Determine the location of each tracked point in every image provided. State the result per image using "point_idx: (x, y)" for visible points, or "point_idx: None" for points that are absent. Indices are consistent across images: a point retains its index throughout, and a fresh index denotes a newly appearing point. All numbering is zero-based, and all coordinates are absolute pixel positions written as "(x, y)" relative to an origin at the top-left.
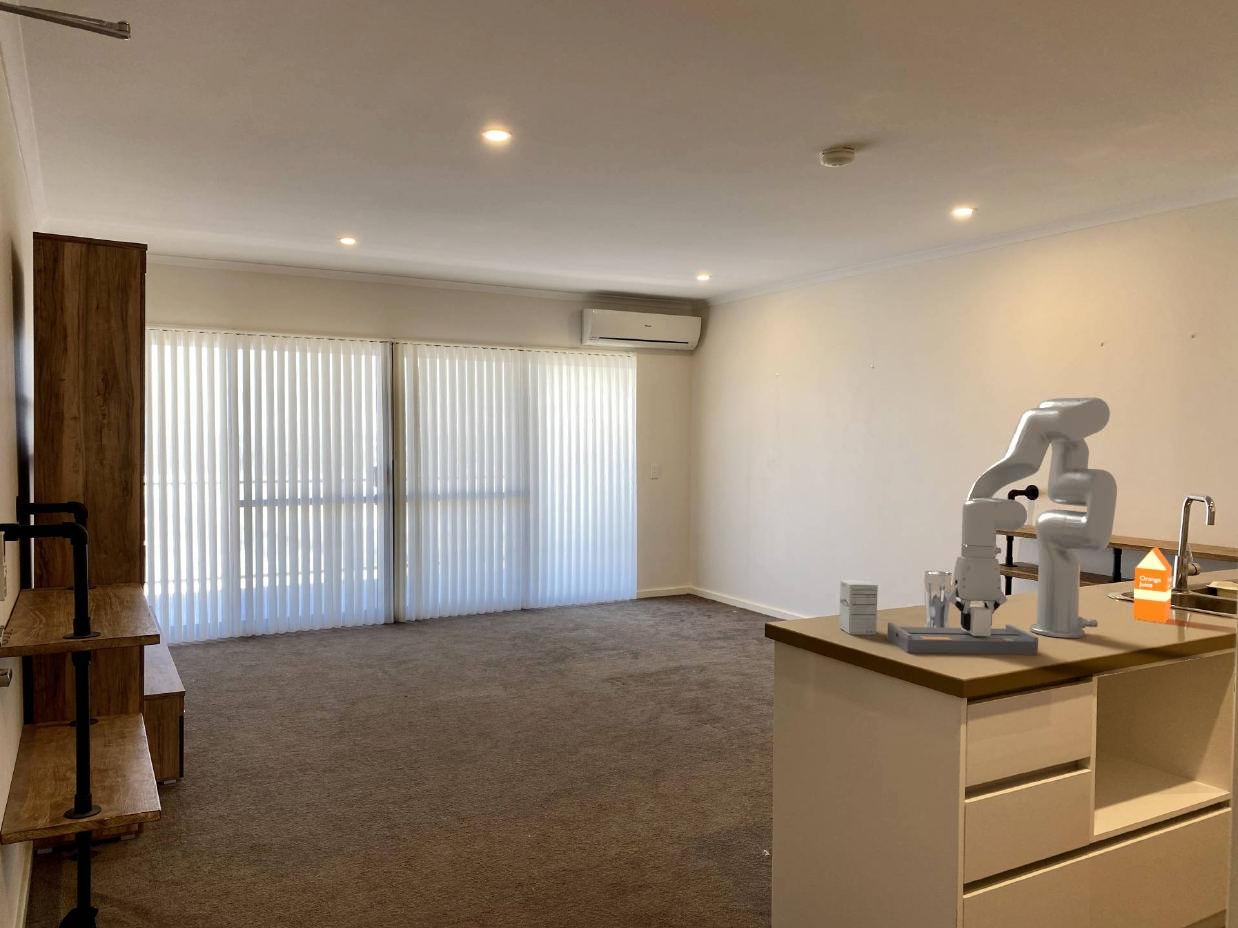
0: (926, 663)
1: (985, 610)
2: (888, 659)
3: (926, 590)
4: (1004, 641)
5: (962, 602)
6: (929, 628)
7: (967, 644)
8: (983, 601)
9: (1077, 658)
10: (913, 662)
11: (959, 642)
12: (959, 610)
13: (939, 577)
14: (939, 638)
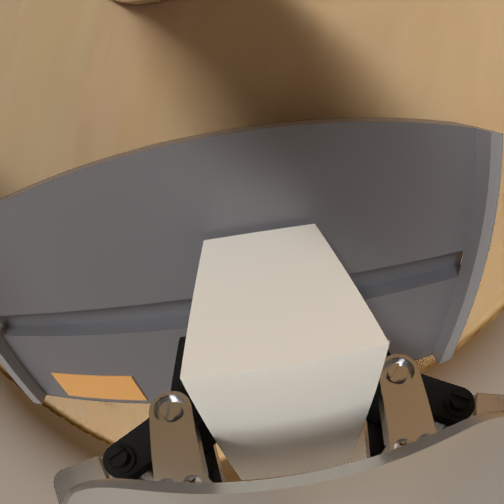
0: (107, 425)
1: (309, 470)
2: (43, 402)
3: None
4: None
5: (171, 467)
6: (41, 216)
7: None
8: (387, 444)
9: (480, 321)
10: (85, 419)
11: None
12: (157, 399)
13: None
14: (105, 390)
